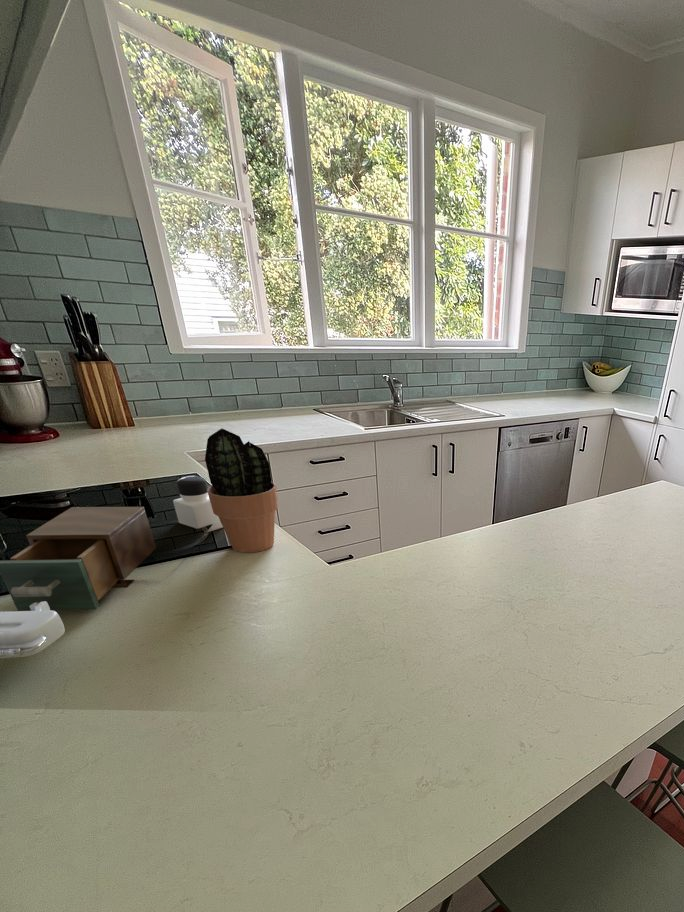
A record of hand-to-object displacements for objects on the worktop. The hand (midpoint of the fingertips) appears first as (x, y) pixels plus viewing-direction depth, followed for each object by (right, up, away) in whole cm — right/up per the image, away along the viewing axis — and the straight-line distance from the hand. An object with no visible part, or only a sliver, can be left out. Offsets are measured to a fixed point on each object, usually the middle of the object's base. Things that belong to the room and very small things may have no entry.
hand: (9, 606), depth 82 cm
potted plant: (+20, +16, +40) cm, 48 cm away
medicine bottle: (+5, +22, +48) cm, 53 cm away
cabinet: (-4, +9, +27) cm, 28 cm away
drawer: (-2, +3, +15) cm, 16 cm away
